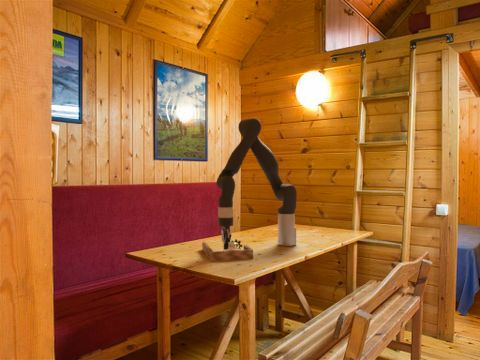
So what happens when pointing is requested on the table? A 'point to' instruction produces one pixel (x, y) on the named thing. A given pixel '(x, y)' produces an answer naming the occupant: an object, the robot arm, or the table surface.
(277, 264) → the table surface
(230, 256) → the rack
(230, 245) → the valve
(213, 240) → the table surface
